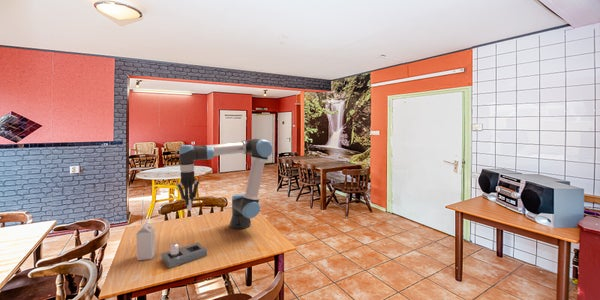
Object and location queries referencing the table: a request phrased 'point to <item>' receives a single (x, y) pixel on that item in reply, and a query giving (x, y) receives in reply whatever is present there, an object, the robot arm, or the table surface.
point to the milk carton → (145, 242)
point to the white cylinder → (174, 250)
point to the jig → (184, 255)
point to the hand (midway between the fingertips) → (189, 209)
